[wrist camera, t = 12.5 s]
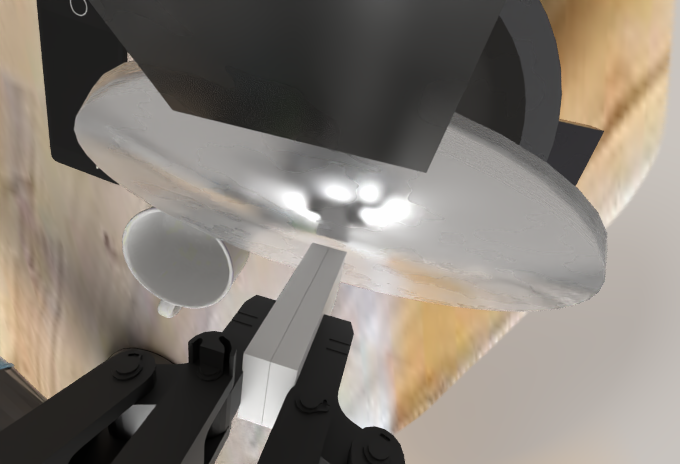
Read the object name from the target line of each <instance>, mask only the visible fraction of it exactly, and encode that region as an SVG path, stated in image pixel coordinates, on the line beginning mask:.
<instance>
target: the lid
mask: <svg viewBox="0 0 680 464" xmlns="http://www.w3.org/2000/svg"><path fill="white" fill-rule="evenodd" d="M89 2H90V3H91V4H92V6H93V7H94V8H95V9H96V11H97V12H98V13H99V15H100V16H101V17H102V19H103V20H104V21H105V23H106V24H107V25H108V26H109V28H110V29H111V30H112V32H113V33H114V34H115V36H116V37H117V38H118V40H119V41H120V42H121V43H122V45H123V46H124V47H125V49H126V50H127V51H128V53H129V54H130V55H131V57H132V58H133V59H134V60H133V61H129V62H125V63H123V64H121V65H119V66H117V67H116V68H114V69H112V70H110V71H108V72H107V73H105V74H103V75H102V77H101V78H100V79H99V80H98V81H97V83H96V84H95V85H94V86H93V88H92V89H91V91H90V93H89V95H88V96H87V98H86V100H85V102H84V103H83V105H82V107H81V109H80V110H79V112H78V114H77V116H76V119H75V126H74V131H75V134H76V137H77V140H78V143H79V144H80V146H81V147H82V149H83V150H84V152H85V153H86V154H87V156H88V157H89V158H90V159H91V160H92V161H93V162H94V163H95V164H96V165H97V166H98V167H99V168H100V169H101V170H102V171H103V172H105V173H106V174H107V175H108V176H109V177H110V178H112V179H113V180H114V181H116V182H117V183H118V184H120V185H121V186H122V187H124V188H125V189H127V190H128V191H129V192H131V193H133V194H134V195H136V196H137V197H139V198H140V199H142V200H143V201H145V202H147V203H148V204H150V205H152V206H154V207H155V208H157V209H159V210H160V211H162V212H164V213H166V214H168V215H170V216H172V217H173V218H175V219H177V220H179V221H181V222H183V223H185V224H187V225H189V226H191V227H193V228H195V229H197V230H200V231H202V232H204V233H206V234H208V235H210V236H213V237H215V238H217V239H219V240H222V241H224V242H226V243H229V244H231V245H234V246H236V247H238V248H241V249H243V250H246V251H248V252H251V253H254V254H256V255H259V256H261V257H264V258H267V259H270V260H272V261H275V262H278V263H281V264H283V265H286V266H289V267H292V268H295V269H296V268H297V267H298V265H299V263H300V262H301V260H302V259H303V257H304V255H305V254H306V252H307V251H308V249H309V247H310V246H311V244H312V243H316V244H319V245H323V246H327V247H329V248H334V249H337V250H341V251H345V252H347V254H346V258H345V263H344V267H343V271H342V276H341V280H340V282H341V283H345V284H348V285H352V286H356V287H360V288H364V289H367V290H371V291H376V292H380V293H384V294H388V295H393V296H398V297H402V298H407V299H412V300H418V301H423V302H429V303H435V304H441V305H447V306H455V307H462V308H471V309H481V310H495V311H542V310H552V309H559V308H563V307H568V306H573V305H576V304H579V303H581V302H584V301H586V300H588V299H590V298H591V297H593V296H594V295H595V294H597V293H598V292H599V291H600V289H601V287H602V285H603V283H604V282H605V271H606V259H607V232H606V230H605V227H604V225H603V223H602V220H601V218H600V216H599V214H598V212H597V211H596V210H595V208H594V207H593V206H592V205H591V203H590V202H589V201H588V200H587V199H586V197H585V196H584V195H583V194H582V193H581V191H580V190H579V189H578V188H577V187H576V186H574V185H573V184H572V183H571V182H570V181H568V180H567V179H566V178H565V177H563V176H562V175H561V174H560V173H559V172H557V171H556V170H555V169H554V168H553V167H551V166H550V165H549V164H548V163H547V162H545V161H543V160H542V159H540V158H539V157H537V156H535V155H534V154H532V153H531V152H529V151H527V150H526V149H524V148H522V147H521V146H519V145H518V144H516V143H514V142H513V141H511V140H510V139H508V138H506V137H505V136H503V135H501V134H499V133H497V132H495V131H493V130H491V129H489V128H487V127H485V126H483V125H480V124H478V123H476V122H474V121H472V120H470V119H468V118H466V117H464V116H462V115H460V114H458V113H456V112H455V110H456V108H457V106H458V104H459V101H460V99H461V97H462V95H463V93H464V91H465V88H466V86H467V84H468V82H469V80H470V77H471V75H472V73H473V71H474V69H475V67H476V64H477V62H478V60H479V58H480V56H481V54H482V51H483V49H484V47H485V45H486V43H487V41H488V38H489V36H490V34H491V32H492V30H493V28H494V25H495V23H496V21H497V19H498V17H499V15H500V12H501V10H502V8H503V6H504V4H505V2H506V0H89Z"/></svg>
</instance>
